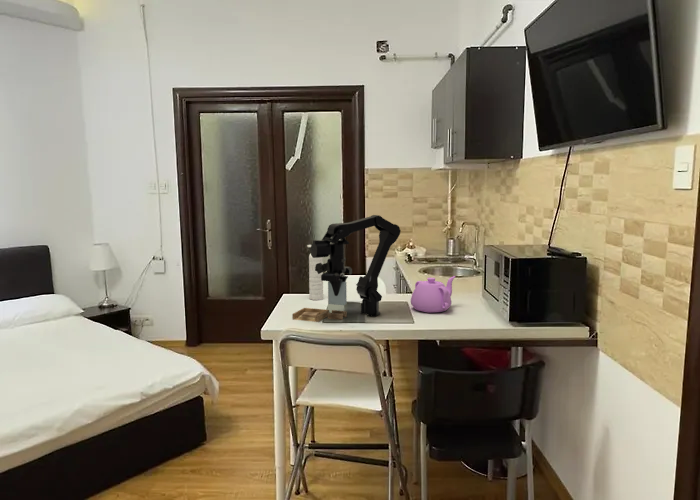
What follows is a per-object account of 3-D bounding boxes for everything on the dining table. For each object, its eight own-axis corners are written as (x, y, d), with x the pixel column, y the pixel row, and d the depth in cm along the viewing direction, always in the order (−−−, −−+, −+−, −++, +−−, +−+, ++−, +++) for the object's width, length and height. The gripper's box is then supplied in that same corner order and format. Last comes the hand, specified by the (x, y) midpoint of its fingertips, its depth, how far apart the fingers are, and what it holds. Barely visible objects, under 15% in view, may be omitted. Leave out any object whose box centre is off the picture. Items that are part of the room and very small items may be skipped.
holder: (346, 318, 209) (346, 311, 208) (341, 321, 204) (341, 314, 203) (332, 317, 211) (332, 310, 210) (327, 320, 206) (327, 313, 205)
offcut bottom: (320, 317, 208) (320, 314, 207) (315, 320, 203) (315, 318, 203) (304, 315, 210) (304, 313, 210) (298, 318, 205) (298, 316, 205)
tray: (329, 317, 211) (329, 309, 211) (318, 323, 201) (318, 316, 200) (304, 314, 215) (304, 307, 214) (292, 321, 205) (292, 313, 204)
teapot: (471, 311, 221) (472, 279, 219) (431, 317, 210) (432, 284, 208) (437, 301, 240) (438, 271, 238) (399, 306, 229) (399, 275, 227)
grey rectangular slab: (346, 304, 206) (346, 281, 205) (344, 305, 204) (344, 282, 203) (330, 302, 209) (329, 280, 207) (328, 304, 207) (328, 281, 206)
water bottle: (326, 298, 244) (325, 245, 241) (315, 301, 240) (314, 247, 237) (314, 295, 251) (313, 244, 247) (303, 298, 246) (302, 245, 243)
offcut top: (319, 315, 207) (319, 312, 207) (316, 317, 203) (316, 315, 203) (304, 314, 209) (304, 311, 208) (301, 316, 204) (301, 314, 204)
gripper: (327, 252, 215) (327, 289, 217) (308, 258, 198) (308, 298, 200) (352, 253, 212) (352, 291, 214) (335, 259, 194) (335, 300, 196)
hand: (337, 295), depth 206 cm, fingers closed on grey rectangular slab, 2 cm apart
